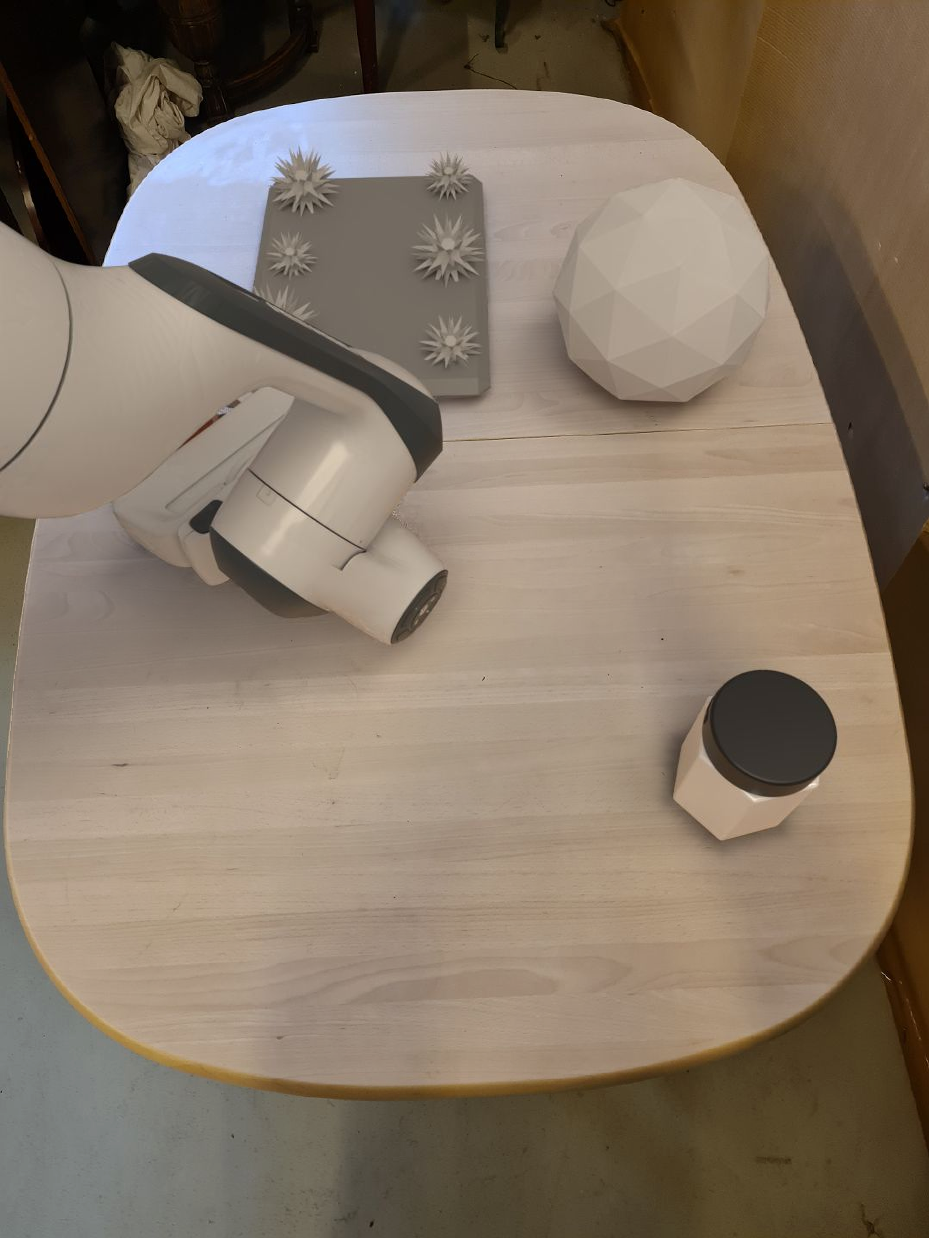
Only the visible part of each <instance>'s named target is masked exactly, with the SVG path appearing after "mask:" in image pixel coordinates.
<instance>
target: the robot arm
mask: <svg viewBox="0 0 929 1238" xmlns="http://www.w3.org/2000/svg"><path fill="white" fill-rule="evenodd" d="M259 388H260V389H259ZM256 389H258V390H257V391H256V392H254V393H252V392H251V391H253V390H256ZM226 408H228V409H230V410H229V411H227V412H225V413H226V414H225V415H224V416H222V417H221V418H220V419H218V420H217V421H216V422H214V423H213V424H212V425H210V426H209V427H208V428H206V429H205V430H204V431H202V432H201V433H200V434H198V435H197V436H196V437H194V438H193V439H191V440H190V441H189V442H187V443H186V444H185V445H183V446H182V447H181V448H179V447H180V446H181V445H182V444H183V443H184V442H185V441H186V440H188V439H189V438H190V437H191V436H192V435H193V434H194V433H195V432H196V431H197V430H198V429H199V428H201V427H202V426H203V425H204V424H205V423H206V422H208V421H209V420H210V419H211V418H212V417H214V416H215V415H216V414H217V413H218V414H220V412H221V411H223V410H224V409H226ZM443 434H444V433H443V421H442V415H441V409H440V404H439V403H438V402H437V401H436V400H435V397H434V398H433V396H432V395H431V393H430V392H429V390H428V389H427V388H426V387H425V386H424V385H423V384H422V383H421V382H420V381H419V380H418V379H417V378H416V377H415V376H414V375H413V374H411V373H410V372H409V371H407V370H406V369H404V368H403V367H401V366H400V365H398V364H397V363H395V362H393V361H391V360H389V359H387V358H385V357H383V356H381V355H378V354H375V353H372V352H369V351H365V350H361V349H356V348H353V347H352V346H350V345H348V344H346V343H344V342H342V341H340V340H338V339H336V338H334V337H332V336H330V335H328V334H326V333H325V332H323V331H321V330H319V329H317V328H315V327H314V326H312V325H310V324H308V323H306V322H305V321H303V320H301V319H299V318H297V317H295V316H294V315H292V314H290V313H288V312H286V311H285V310H283V309H281V308H279V307H277V306H276V305H274V304H272V303H270V302H268V301H266V300H265V299H263V298H261V297H259V296H257V295H255V294H254V293H252V291H251V290H248V289H246V288H244V287H242V286H240V285H239V284H236V283H234V282H232V281H230V280H228V279H227V278H226V277H223V276H221V275H219V274H217V273H215V272H213V271H211V270H209V269H206V268H205V267H203V266H200V265H198V264H195V263H193V262H191V261H188V260H185V259H182V258H180V257H176V256H172V255H168V254H164V253H158V252H150V253H148V254H146V255H143V256H140V257H139V258H136V259H134V260H131V261H129V262H127V264H125V265H114V266H113V265H111V266H96V265H94V266H93V265H86V264H85V265H84V264H79V263H78V264H77V263H74V262H69V261H66V260H63V259H61V258H58V257H56V256H53V255H52V254H50V253H48V252H47V251H46V250H44V249H42V248H41V247H39V246H38V245H37V244H35V243H34V242H32V241H30V240H29V239H28V238H26V237H25V236H24V235H22V234H20V233H19V232H17V231H16V230H15V229H13V228H11V227H10V226H8V225H7V224H6V223H4V222H2V221H1V220H0V516H3V517H9V518H10V517H11V518H17V519H30V520H31V519H32V520H33V519H34V520H47V519H48V520H49V519H50V520H51V519H53V520H54V519H63V518H69V517H74V516H78V515H82V514H85V513H89V512H92V511H94V510H97V509H99V508H102V507H104V506H106V505H108V504H110V503H112V512H113V515H114V516H115V518H116V520H117V522H118V523H119V525H120V527H121V528H122V529H123V530H124V532H125V533H126V534H127V535H128V536H129V537H130V538H131V539H132V540H134V541H135V542H136V543H138V544H139V545H140V546H141V547H143V548H144V549H146V550H147V551H148V552H150V553H152V554H153V555H155V556H156V557H158V558H159V559H161V560H163V561H164V562H166V563H168V564H170V565H173V566H175V567H179V568H192V570H194V572H195V573H196V574H197V576H199V578H200V579H201V580H202V581H203V582H204V583H205V584H207V585H209V586H211V587H212V586H218V585H221V584H223V583H226V582H227V581H230V580H231V582H233V583H234V584H235V585H236V586H238V587H239V588H240V589H241V590H242V591H244V593H246V594H247V595H248V596H249V597H250V598H251V599H253V600H254V601H255V602H256V603H258V604H259V605H260V606H262V608H264V609H265V610H268V612H270V613H272V614H273V615H275V616H278V617H280V618H283V619H287V620H293V619H301V618H311V617H318V616H324V615H328V614H330V612H333V613H334V614H336V615H338V616H339V617H341V618H342V619H343V620H344V621H346V622H348V623H349V624H351V625H352V626H354V627H355V628H357V629H359V630H360V631H362V632H364V633H365V634H367V635H368V636H370V637H372V638H374V639H376V640H377V641H379V642H381V643H382V644H386V645H388V646H389V645H390V646H393V645H396V644H399V643H400V642H403V641H405V640H406V639H408V638H409V637H410V636H412V635H413V634H414V633H415V631H416V630H417V629H418V628H419V627H421V625H422V624H423V623H424V622H425V620H426V619H427V617H428V616H429V615H430V614H431V612H432V611H433V610H434V608H435V606H436V605H437V603H438V602H439V600H440V599H441V597H442V595H443V592H444V591H445V588H446V587H447V583H448V575H449V569H448V566H447V565H446V564H445V562H444V561H443V560H442V559H441V558H440V557H439V556H438V554H436V552H435V551H434V550H433V549H432V548H431V547H430V546H429V545H428V544H427V543H425V542H424V540H423V539H422V538H420V536H418V535H417V534H416V533H415V532H414V531H413V530H412V529H411V528H409V527H408V526H407V525H406V524H405V523H403V521H401V520H400V519H399V518H398V517H396V516H395V515H394V514H393V513H394V511H395V510H396V508H397V507H398V506H399V504H400V503H401V501H402V500H403V499H404V497H405V496H406V494H407V493H408V492H409V490H410V489H411V488H412V486H413V484H416V483H417V482H418V481H419V480H420V478H421V477H422V476H423V475H424V474H425V472H426V471H427V470H428V469H429V468H430V467H431V465H432V464H433V463H434V462H435V461H436V459H438V457H439V455H440V454H441V453H442V452H443V450H444V435H443ZM178 448H179V449H178ZM177 449H178V450H177ZM176 450H177V451H176Z"/></svg>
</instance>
